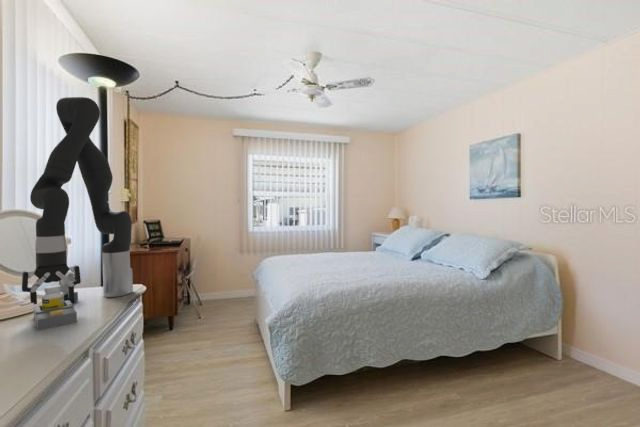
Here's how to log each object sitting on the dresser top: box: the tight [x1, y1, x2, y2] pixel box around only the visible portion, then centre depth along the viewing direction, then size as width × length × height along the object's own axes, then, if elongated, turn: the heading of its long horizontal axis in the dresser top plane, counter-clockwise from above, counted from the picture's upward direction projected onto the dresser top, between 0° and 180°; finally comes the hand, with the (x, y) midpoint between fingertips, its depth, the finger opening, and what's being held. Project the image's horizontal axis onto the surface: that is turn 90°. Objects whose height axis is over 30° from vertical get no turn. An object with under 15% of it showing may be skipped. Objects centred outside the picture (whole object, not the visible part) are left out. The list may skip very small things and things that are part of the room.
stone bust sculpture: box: [58, 271, 79, 305], centre depth 117 cm, size 6×8×11 cm
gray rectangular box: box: [33, 300, 78, 331], centre depth 102 cm, size 21×9×4 cm, turn 45°
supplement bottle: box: [41, 284, 64, 311], centre depth 102 cm, size 5×5×10 cm
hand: (52, 300), depth 102 cm, fingers open, 8 cm apart
